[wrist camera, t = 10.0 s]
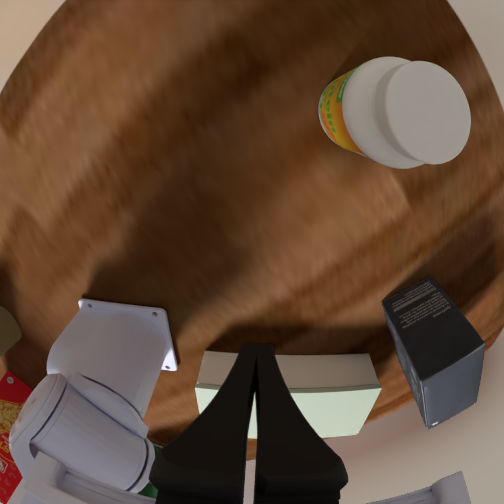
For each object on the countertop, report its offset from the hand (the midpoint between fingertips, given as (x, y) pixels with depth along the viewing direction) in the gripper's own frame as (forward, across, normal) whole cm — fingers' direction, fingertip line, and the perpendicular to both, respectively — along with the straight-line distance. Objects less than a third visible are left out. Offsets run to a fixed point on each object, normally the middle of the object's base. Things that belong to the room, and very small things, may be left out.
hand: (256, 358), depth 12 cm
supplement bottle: (+10, -6, -11) cm, 16 cm away
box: (+10, -15, +6) cm, 19 cm away
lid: (+5, -3, +14) cm, 15 cm away
